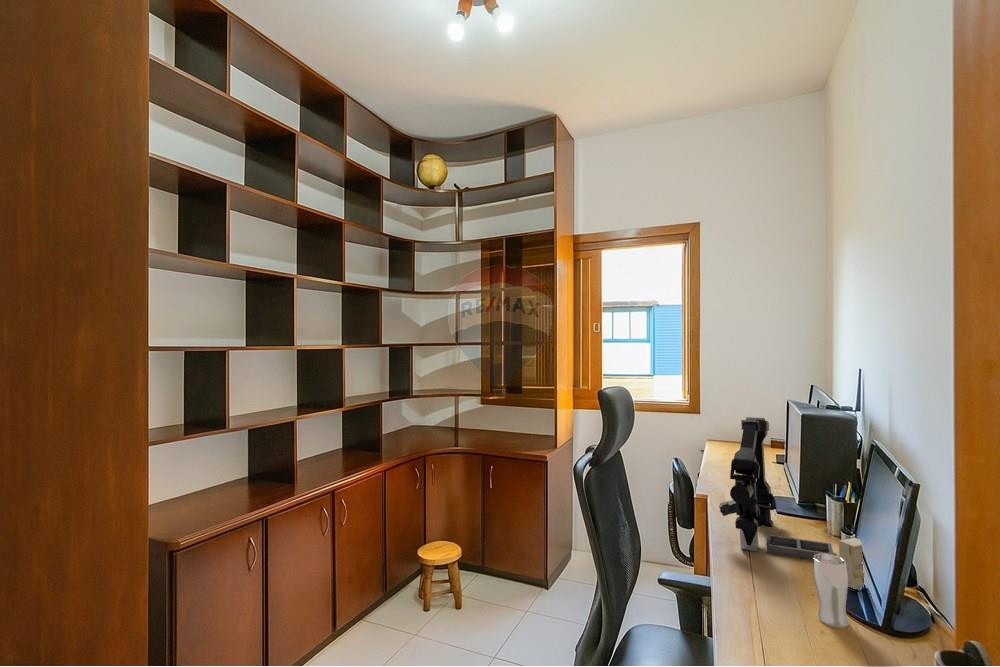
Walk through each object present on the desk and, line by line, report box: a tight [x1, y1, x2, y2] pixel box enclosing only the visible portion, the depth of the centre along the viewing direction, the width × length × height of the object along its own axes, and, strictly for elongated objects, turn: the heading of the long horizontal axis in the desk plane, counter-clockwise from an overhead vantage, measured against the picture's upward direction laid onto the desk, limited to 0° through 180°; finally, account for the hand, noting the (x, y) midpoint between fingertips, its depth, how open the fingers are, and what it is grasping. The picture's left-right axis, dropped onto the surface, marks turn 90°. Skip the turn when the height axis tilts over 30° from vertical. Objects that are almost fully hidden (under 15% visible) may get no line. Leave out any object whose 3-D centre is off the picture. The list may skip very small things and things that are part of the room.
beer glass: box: [812, 552, 850, 629], centre depth 117 cm, size 7×7×15 cm
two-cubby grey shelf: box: [765, 533, 834, 561], centre depth 154 cm, size 10×18×2 cm, turn 59°
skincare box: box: [838, 537, 864, 589], centre depth 132 cm, size 6×4×12 cm
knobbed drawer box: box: [739, 529, 760, 552], centre depth 159 cm, size 5×5×7 cm
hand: (749, 542), depth 159 cm, fingers closed on knobbed drawer box, 5 cm apart
